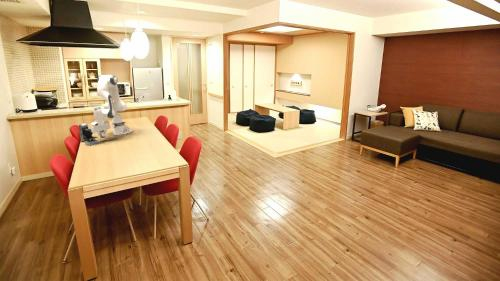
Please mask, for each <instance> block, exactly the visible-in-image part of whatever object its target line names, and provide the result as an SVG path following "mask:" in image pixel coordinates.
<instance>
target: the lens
mask: <svg viewBox="0 0 500 281" xmlns="http://www.w3.org/2000/svg"><path fill="white" fill-rule="evenodd" d="M99 133H100V135H99V137H100V138H101V139H104V138H106V134H105V131H104V130H103V131H99Z"/></svg>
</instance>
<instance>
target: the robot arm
mask: <svg viewBox="0 0 500 281" xmlns="http://www.w3.org/2000/svg"><path fill="white" fill-rule="evenodd" d="M96 82H97V85H96V86H97V88H96V94H97V96H98V97H99V98H100V99H103V100H105V101H106V102H105V103H104V105H103V108H102V107H94V108H93V117H94V121H93V122H92V123H90V129H91V131H92V132H93V134H95V133H97V135H98V136H100V133H99V131H103V130H104V132H105V135H106V134H107V130H110V129H111V128H112V127H113V131H112V135H114V136H115V135H116V136H118V135H119V136H120V135H127V134H130V133H132V132H133V130H131V129H130V126H129V125H126V123H127V122H126V121H124V120H123V116H122V115H121V114H120V113H119V112H124V111H126V109H127V108H128V107H127V104H126V103H125V101H123V100H122V99H121V98H120V92H119V87H118V78H117V76H116V75H113V74H106V75H103V74H102V75H98V76H97V78H96ZM105 119H111V120H112V127H111V124H110V121H109V120H105Z"/></svg>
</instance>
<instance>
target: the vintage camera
mask: <svg viewBox="0 0 500 281" xmlns="http://www.w3.org/2000/svg"><path fill="white" fill-rule="evenodd" d="M78 130H79V132H78V133H79V137H80V141H81V142H82V141H83V142H85V141H87V140H88V139H89V140H91V139H95V140H96V139H98V138H99V136H98V137H97V136H93V134H94V133H93V132H92V131H91V128H89V125H88V123H87V122H84V123H82V124H81V123H80V124H79V125H78Z"/></svg>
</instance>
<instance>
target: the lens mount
mask: <svg viewBox="0 0 500 281" xmlns="http://www.w3.org/2000/svg"><path fill="white" fill-rule="evenodd" d="M98 140H99V139H96V138H95V139H89V140H86V141H84V145H85V144H87V145H86V146H89V145H90V147H91V146H95V145H98V144H99V141H98ZM94 144H95V145H94Z"/></svg>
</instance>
